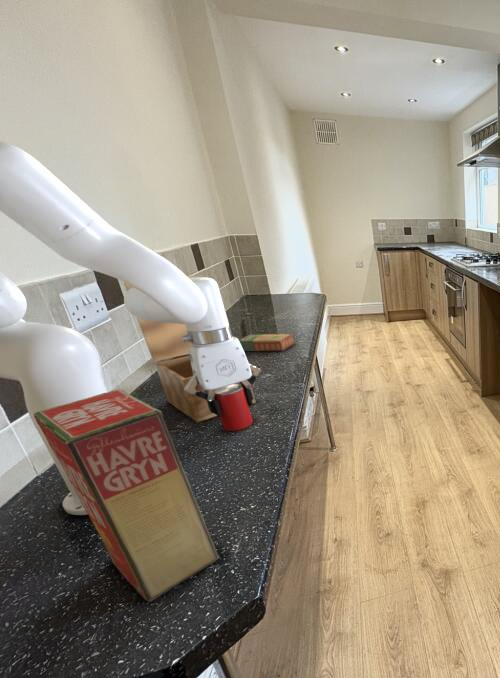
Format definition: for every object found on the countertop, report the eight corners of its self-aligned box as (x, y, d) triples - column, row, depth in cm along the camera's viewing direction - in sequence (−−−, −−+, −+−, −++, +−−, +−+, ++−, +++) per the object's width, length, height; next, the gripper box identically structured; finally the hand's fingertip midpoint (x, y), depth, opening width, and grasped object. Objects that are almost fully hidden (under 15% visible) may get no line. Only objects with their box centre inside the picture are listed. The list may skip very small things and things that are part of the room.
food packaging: (108, 563, 60) (28, 411, 50) (182, 524, 67) (125, 385, 58) (146, 605, 54) (63, 441, 44) (223, 557, 61) (167, 407, 51)
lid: (191, 276, 107) (184, 274, 110) (124, 283, 97) (118, 281, 100) (213, 348, 115) (206, 345, 118) (154, 361, 105) (148, 358, 108)
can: (257, 423, 99) (247, 387, 95) (230, 433, 95) (218, 396, 91) (245, 416, 102) (235, 381, 99) (219, 426, 98) (207, 390, 94)
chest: (255, 402, 110) (244, 363, 105) (197, 422, 100) (182, 379, 95) (225, 386, 120) (213, 349, 116) (169, 402, 110) (154, 363, 105)
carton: (282, 351, 149) (280, 340, 147) (239, 351, 149) (236, 340, 148) (294, 344, 157) (291, 333, 155) (252, 344, 157) (249, 333, 155)
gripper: (170, 348, 81) (197, 428, 88) (260, 329, 94) (278, 399, 101) (157, 342, 85) (184, 418, 92) (245, 324, 98) (263, 392, 105)
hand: (233, 408), depth 97 cm, fingers closed on can, 6 cm apart
